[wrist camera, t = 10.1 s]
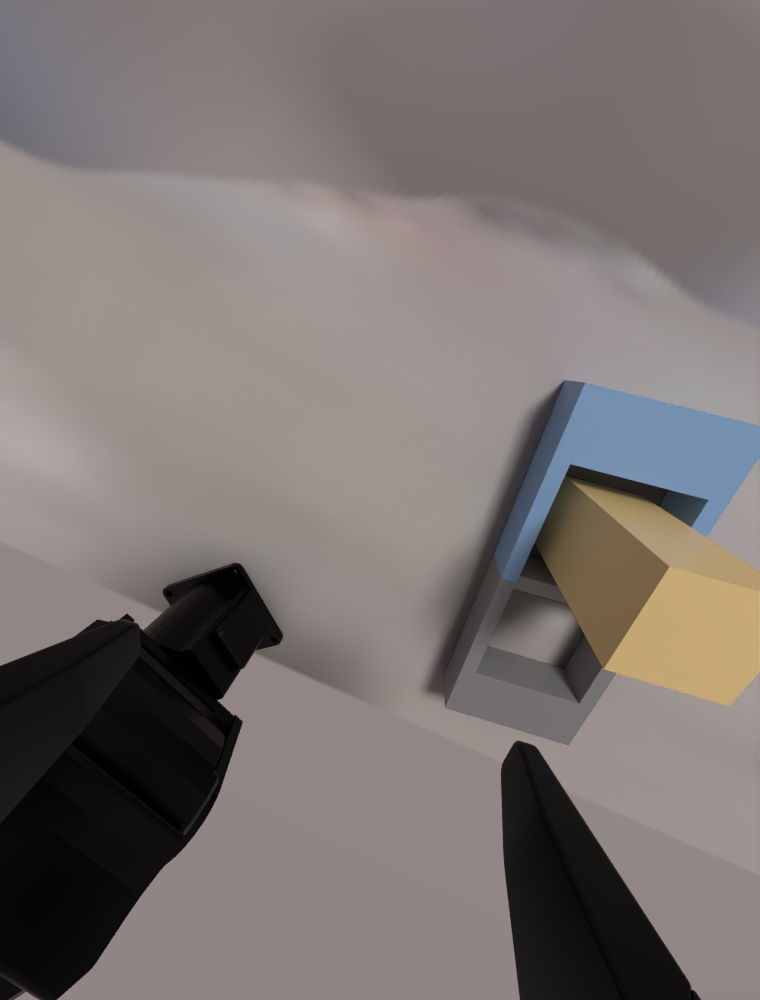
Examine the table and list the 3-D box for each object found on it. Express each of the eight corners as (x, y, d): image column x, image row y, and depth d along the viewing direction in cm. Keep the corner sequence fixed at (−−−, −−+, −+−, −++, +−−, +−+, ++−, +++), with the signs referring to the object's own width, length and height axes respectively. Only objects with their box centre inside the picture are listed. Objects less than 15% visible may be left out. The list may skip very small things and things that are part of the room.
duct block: (555, 708, 24) (568, 745, 21) (444, 674, 24) (444, 707, 22) (729, 420, 16) (777, 430, 14) (564, 380, 17) (585, 382, 14)
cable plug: (605, 561, 20) (729, 706, 11) (533, 541, 20) (603, 668, 12) (642, 495, 18) (816, 607, 10) (564, 475, 18) (669, 566, 10)
